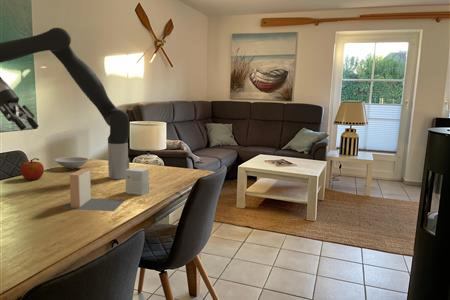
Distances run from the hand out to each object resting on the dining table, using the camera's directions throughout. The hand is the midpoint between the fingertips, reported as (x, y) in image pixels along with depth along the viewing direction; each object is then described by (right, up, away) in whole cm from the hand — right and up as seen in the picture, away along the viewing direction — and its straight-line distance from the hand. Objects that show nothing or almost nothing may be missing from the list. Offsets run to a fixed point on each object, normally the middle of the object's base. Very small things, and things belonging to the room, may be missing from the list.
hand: (30, 128), depth 133 cm
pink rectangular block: (+21, -28, -4) cm, 35 cm away
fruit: (-16, -22, +31) cm, 41 cm away
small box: (+38, -27, +13) cm, 48 cm away
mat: (+26, -29, -4) cm, 39 cm away
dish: (-8, -19, +55) cm, 59 cm away
